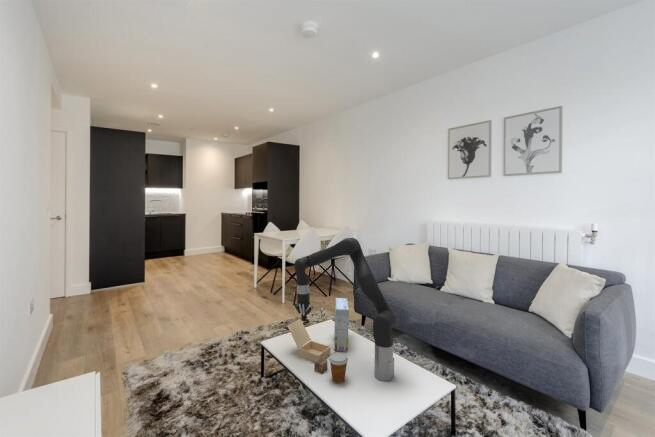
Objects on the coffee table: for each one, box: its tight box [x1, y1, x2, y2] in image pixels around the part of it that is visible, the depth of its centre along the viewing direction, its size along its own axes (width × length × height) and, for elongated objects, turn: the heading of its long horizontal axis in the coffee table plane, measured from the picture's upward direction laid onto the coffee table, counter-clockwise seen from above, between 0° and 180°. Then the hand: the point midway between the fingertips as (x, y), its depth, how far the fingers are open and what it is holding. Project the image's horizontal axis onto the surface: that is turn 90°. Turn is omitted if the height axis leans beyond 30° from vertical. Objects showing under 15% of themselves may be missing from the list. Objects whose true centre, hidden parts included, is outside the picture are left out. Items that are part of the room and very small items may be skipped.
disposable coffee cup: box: [328, 351, 349, 384], centre depth 153 cm, size 10×10×12 cm
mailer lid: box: [286, 318, 312, 349], centre depth 181 cm, size 14×12×1 cm
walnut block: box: [313, 358, 328, 375], centre depth 161 cm, size 5×5×5 cm
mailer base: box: [298, 340, 332, 364], centre depth 175 cm, size 14×12×5 cm
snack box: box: [334, 297, 350, 352], centre depth 191 cm, size 22×9×26 cm, turn 179°
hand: (304, 320), depth 178 cm, fingers closed
